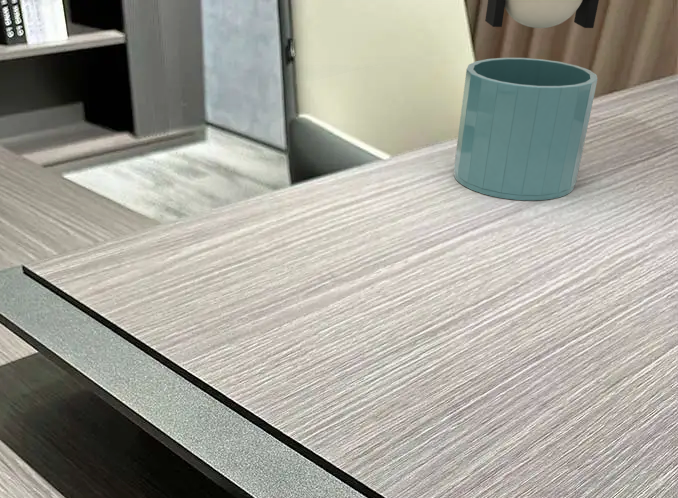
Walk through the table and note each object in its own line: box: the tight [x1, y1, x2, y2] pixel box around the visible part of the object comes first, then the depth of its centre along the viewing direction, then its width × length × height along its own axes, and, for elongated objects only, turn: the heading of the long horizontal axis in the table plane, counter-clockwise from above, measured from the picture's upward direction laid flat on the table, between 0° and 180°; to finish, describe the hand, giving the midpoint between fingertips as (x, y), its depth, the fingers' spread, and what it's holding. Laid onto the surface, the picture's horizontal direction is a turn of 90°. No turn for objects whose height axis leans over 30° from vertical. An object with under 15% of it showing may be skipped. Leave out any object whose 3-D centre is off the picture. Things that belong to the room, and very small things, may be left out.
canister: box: [453, 57, 598, 201], centre depth 75 cm, size 11×11×10 cm
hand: (538, 24), depth 71 cm, fingers closed on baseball, 7 cm apart
